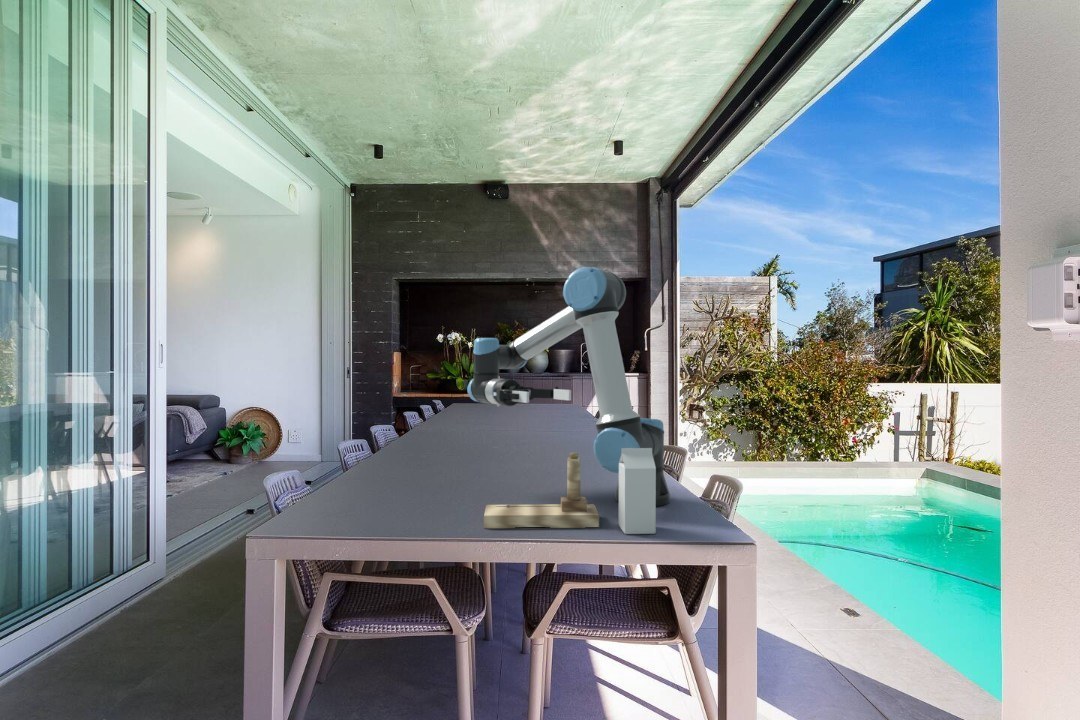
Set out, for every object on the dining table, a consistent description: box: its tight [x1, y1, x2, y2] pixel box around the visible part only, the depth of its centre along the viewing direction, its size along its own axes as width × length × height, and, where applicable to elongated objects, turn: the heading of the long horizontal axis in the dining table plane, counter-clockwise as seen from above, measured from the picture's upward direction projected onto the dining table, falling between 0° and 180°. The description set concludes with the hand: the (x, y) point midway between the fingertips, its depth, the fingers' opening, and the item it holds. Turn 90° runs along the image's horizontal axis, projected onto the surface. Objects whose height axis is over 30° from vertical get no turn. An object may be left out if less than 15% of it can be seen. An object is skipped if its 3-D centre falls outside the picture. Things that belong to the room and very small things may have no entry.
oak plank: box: [483, 503, 600, 529], centre depth 143 cm, size 27×10×3 cm, turn 92°
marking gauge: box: [560, 452, 588, 512], centre depth 144 cm, size 6×4×14 cm, turn 92°
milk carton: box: [618, 448, 657, 535], centre depth 137 cm, size 7×7×19 cm
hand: (549, 396), depth 151 cm, fingers open, 13 cm apart
